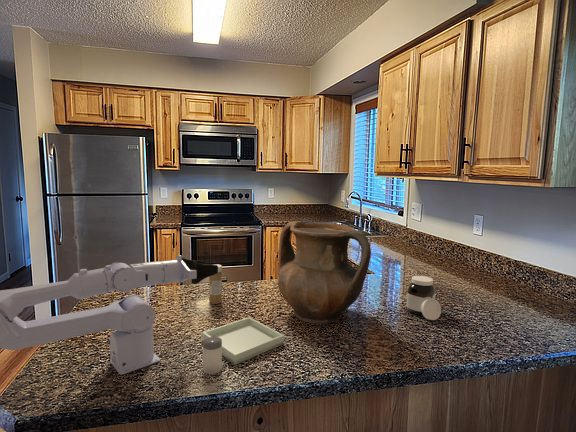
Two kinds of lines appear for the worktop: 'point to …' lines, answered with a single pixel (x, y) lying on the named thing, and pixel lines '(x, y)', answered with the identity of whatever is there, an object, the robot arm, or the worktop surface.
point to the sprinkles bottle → (215, 286)
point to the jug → (320, 270)
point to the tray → (245, 339)
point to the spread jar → (423, 298)
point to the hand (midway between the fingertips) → (210, 267)
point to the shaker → (212, 355)
